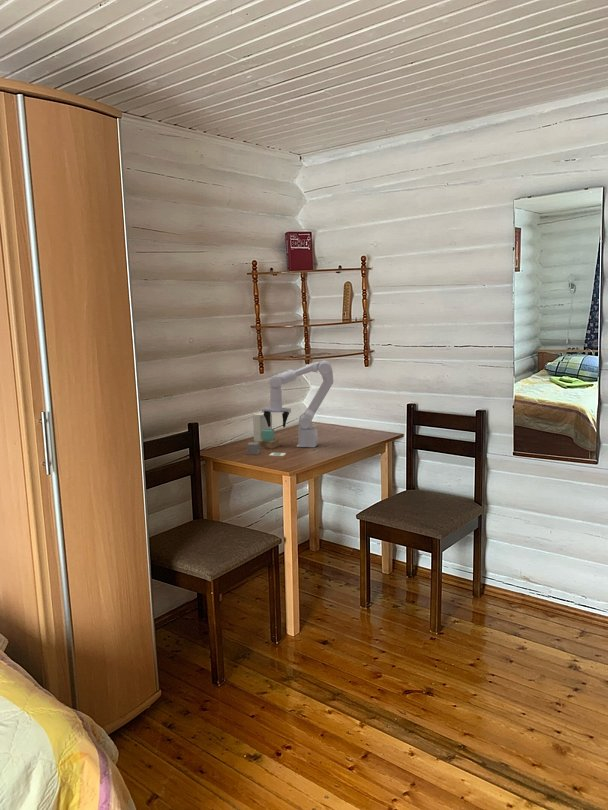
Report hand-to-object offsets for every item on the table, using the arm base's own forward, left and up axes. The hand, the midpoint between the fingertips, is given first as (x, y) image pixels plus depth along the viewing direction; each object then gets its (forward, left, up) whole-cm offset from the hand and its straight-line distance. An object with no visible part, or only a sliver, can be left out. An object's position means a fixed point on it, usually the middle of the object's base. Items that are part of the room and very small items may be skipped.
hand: (276, 426), depth 328 cm
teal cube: (+4, +3, -6) cm, 8 cm away
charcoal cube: (+7, +17, -10) cm, 21 cm away
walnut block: (+4, +3, -10) cm, 11 cm away
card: (-5, +18, -10) cm, 21 cm away
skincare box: (+10, -9, -10) cm, 17 cm away
